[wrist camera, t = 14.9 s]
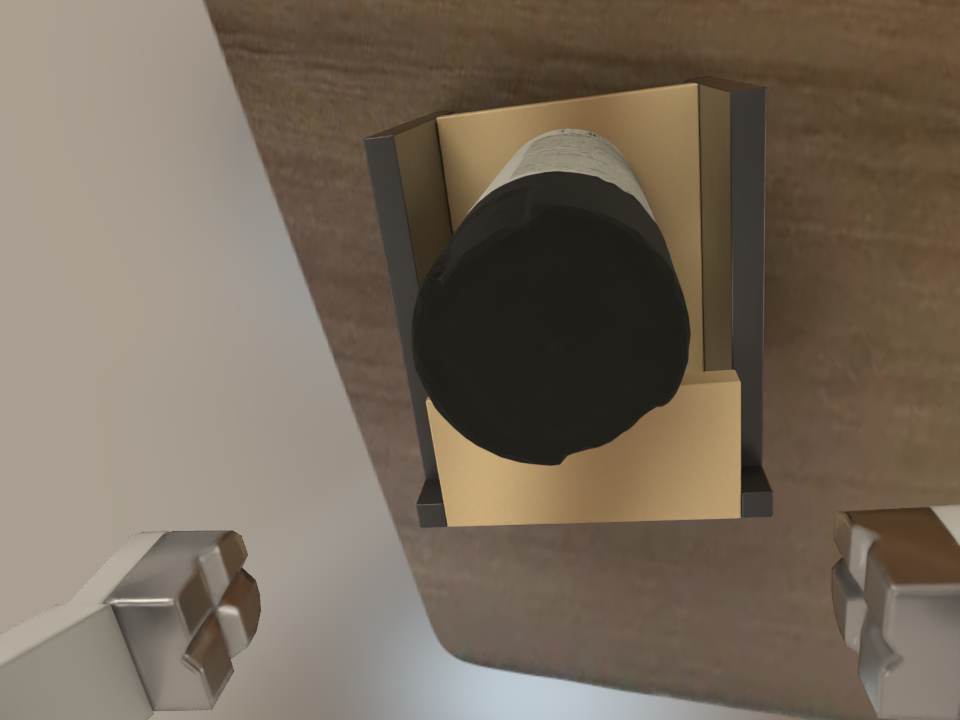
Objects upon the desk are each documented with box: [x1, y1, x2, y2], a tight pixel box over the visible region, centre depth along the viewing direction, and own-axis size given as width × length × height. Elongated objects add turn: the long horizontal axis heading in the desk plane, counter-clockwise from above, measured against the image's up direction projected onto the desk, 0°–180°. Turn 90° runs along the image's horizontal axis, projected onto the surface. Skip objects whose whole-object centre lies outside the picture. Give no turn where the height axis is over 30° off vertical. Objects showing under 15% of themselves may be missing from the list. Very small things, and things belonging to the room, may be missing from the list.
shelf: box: [363, 77, 773, 528], centre depth 34 cm, size 14×16×15 cm
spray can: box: [411, 129, 691, 466], centre depth 26 cm, size 7×7×20 cm
